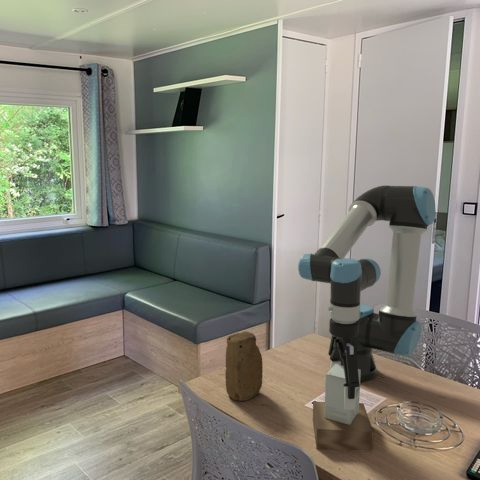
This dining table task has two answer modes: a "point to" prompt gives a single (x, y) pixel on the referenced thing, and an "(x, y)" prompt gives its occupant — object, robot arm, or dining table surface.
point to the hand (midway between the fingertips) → (341, 395)
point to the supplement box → (339, 396)
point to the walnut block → (342, 431)
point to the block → (243, 366)
